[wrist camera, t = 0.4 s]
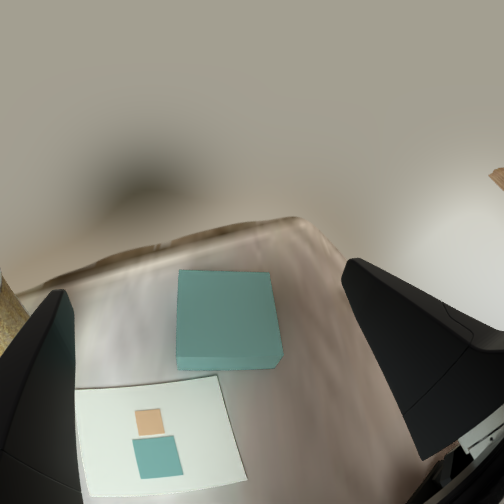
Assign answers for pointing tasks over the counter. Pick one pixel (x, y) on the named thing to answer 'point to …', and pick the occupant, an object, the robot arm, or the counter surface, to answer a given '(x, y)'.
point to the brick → (226, 321)
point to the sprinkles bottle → (10, 315)
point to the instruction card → (156, 439)
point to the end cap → (428, 486)
